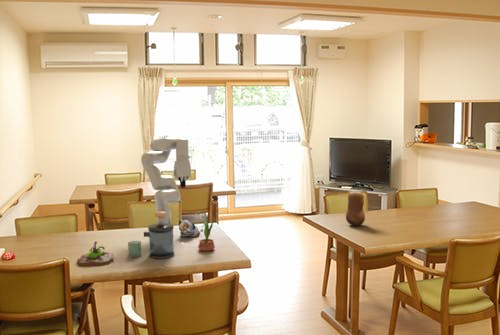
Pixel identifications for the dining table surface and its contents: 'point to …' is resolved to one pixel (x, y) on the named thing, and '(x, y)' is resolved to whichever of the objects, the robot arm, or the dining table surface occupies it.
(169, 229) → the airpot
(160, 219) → the push button
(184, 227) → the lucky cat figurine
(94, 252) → the plant
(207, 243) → the potted flower
